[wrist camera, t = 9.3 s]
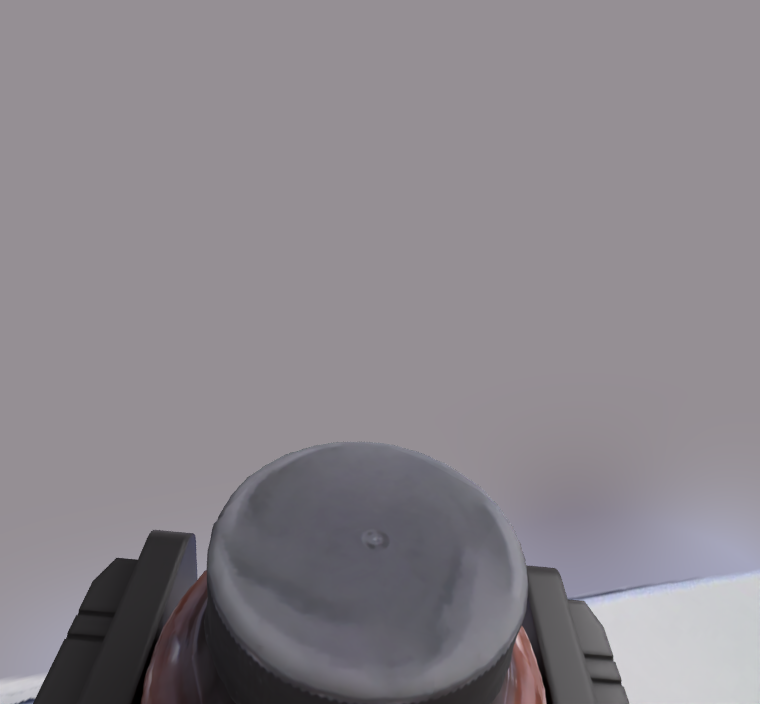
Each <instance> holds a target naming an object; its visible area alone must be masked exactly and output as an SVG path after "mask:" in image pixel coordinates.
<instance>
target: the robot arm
mask: <svg viewBox="0 0 760 704" xmlns="http://www.w3.org/2000/svg"><path fill="white" fill-rule="evenodd" d="M196 561H197V560H196V540H195V535H194V534H193V533H182V532H171V531H160V530H153V531H151V533H150V534H149V536H148V538H147V540H146V542H145V545H144V547H143V549H142V552H141V554H140V556H139V559H138V560H135V559H124V558H116V559H115V560H114V561H113V562H112V563H111V564H110V565H109V566H108V567H107V568H106V569H105V570H104V571H103V572H102V573H101V574H100V575H99V576H98V577H97V578H96V579H95V580H94V581H93V582H92V584H91V586H90V588H89V590H88V592H87V594H86V596H85V598H84V600H83V602H82V604H81V606H80V609H79V613H78V615H76V617H75V619H74V621H73V623H72V625H71V627H70V629H69V631H68V635H67V638H66V639H64V641H63V644H62V645H61V647H60V650H59V652H58V654H57V656H56V658H55V660H54V662H53V664H52V666H51V668H50V670H49V672H48V674H47V676H46V678H45V680H44V682H43V684H42V686H41V688H40V690H39V693H38V695H37V697H36V699H35V701H34V703H33V704H141V698H142V695H143V684H144V680H145V675H146V672H147V669H148V667H149V664H150V661H151V656H152V653H153V650H154V648H155V645H156V643H157V641H158V639H159V636H160V634H161V632H162V629H163V627H164V625H165V624H166V622H167V620H168V619H169V617H170V615H171V614H172V612H173V611H174V609H175V608H176V606H177V605H178V603H179V601H180V600H181V598H182V597H183V596H184V595H185V594H186V592H187V591H188V590H189V588H190V587H191V586H192V585H193V584H194V583H195V582H196V581H197V562H196ZM526 567H527V576H528V598H527V607H526V614H525V617H524V620H523V623H522V626H523V628H524V630H525V632H526V634H527V636H528V639H529V641H530V644H531V647H532V649H533V652H534V654H535V657H536V660H537V664H538V668H539V671H540V673H541V676H542V682H543V685H544V688H545V698H546V703H547V704H629V701H628V698H627V695H626V692H625V689H624V687H623V686H622V685H621V677H620V675H619V672H618V669H617V666H616V663H615V662H614V661H613V654H612V651H611V648H610V645H609V642H608V639H607V636H606V633H605V630H604V627H603V626H602V624H601V623H600V622H599V620H598V619H597V618H596V616H595V615H594V614H593V612H592V611H591V610H590V608H589V607H588V606H587V604H586V603H585V602H584V601H578V600H568V599H567V596H566V592H565V589H564V585H563V582H562V579H561V576H560V574H559V572H558V570H556V569H555V568H547V567H537V566H526Z"/></svg>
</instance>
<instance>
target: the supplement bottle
mask: <svg viewBox="0 0 760 704" xmlns="http://www.w3.org/2000/svg"><path fill="white" fill-rule="evenodd" d="M527 598H528V576H527V567H526V563H525V557H524V554H523V552H522V548H521V544H520V542H519V540H518V538H517V536H516V533H515V531H514V529H513V527H512V525H511V524H510V522H509V521H508V520H507V518H506V517H505V515H504V513H503V512H502V511H501V509H500V508H499V506H498V505H497V504H496V503H495V502H494V501H493V500H492V499H491V498H490V497H489V496H488V494H487V493H486V492H485V491H484V490H483V489H482V488H481V487H479V486H478V485H477V484H476V483H474V482H473V481H472V480H470V479H469V478H467V477H466V476H465V475H463V474H462V473H460V472H459V471H457V470H455V469H454V468H452V467H450V466H449V465H447V464H445V463H443V462H440V461H438V460H435V459H433V458H431V457H430V456H427V455H425V454H422V453H419V452H416V451H413V450H409V449H406V448H402V447H398V446H395V445H390V444H383V443H372V442H336V443H329V444H323V445H317V446H313V447H309V448H306V449H302V450H300V451H297V452H292V453H289V454H286V455H284V456H282V457H280V458H279V459H277V460H275V461H273V462H271V463H269V464H267V465H265V466H264V467H262V468H261V469H260V470H258V471H257V472H255V473H254V474H252V475H251V476H249V477H248V478H247V479H246V480H245V481H244V482H243V483H242V484H241V485H240V486H239V487H238V489H237V490H236V491H235V492H234V493H233V494H232V495H231V497H230V499H229V501H228V502H227V504H226V505H225V506H224V508H223V510H222V512H221V513H220V515H219V517H218V520H217V521H216V522H215V523H214V526H213V529H212V534H211V540H210V544H209V548H208V554H207V570H206V571H204V573H203V574H202V575H201V576H200V578H199V579H198V580H197V581H196V582H195V583H194V584H193V585H192V586H191V587H190V588H189V590H188V591H187V592H186V594H185V595H184V596H183V597H182V598H181V600H180V601H179V603H178V605H177V606H176V608H175V609H174V611H173V612H172V614H171V615H170V617H169V619H168V620H167V622H166V624H165V625H164V627H163V629H162V632H161V634H160V636H159V639H158V641H157V643H156V645H155V648H154V650H153V653H152V656H151V661H150V664H149V667H148V669H147V672H146V675H145V680H144V684H143V695H142V698H141V704H547V703H546V698H545V688H544V685H543V682H542V676H541V673H540V671H539V668H538V664H537V660H536V657H535V654H534V652H533V649H532V647H531V644H530V641H529V639H528V636H527V634H526V632H525V630H524V628H523V626H522V623H523V620H524V617H525V614H526V607H527Z"/></svg>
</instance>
